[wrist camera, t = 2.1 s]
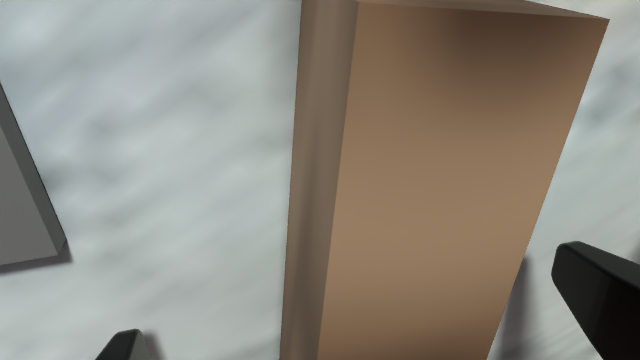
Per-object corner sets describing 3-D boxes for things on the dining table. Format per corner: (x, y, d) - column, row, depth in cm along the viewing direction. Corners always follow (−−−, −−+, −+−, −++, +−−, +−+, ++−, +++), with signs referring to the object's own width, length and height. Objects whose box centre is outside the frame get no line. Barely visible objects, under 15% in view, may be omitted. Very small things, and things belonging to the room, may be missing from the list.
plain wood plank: (372, 414, 14) (417, 550, 11) (273, 428, 13) (292, 576, 10) (464, -13, 8) (609, 19, 5) (300, -26, 8) (359, 1, 5)
